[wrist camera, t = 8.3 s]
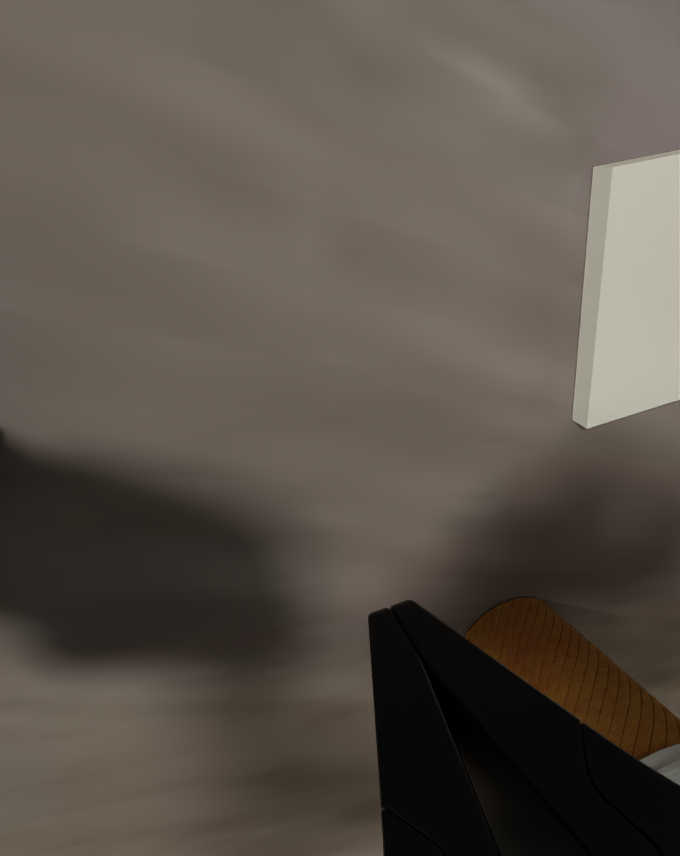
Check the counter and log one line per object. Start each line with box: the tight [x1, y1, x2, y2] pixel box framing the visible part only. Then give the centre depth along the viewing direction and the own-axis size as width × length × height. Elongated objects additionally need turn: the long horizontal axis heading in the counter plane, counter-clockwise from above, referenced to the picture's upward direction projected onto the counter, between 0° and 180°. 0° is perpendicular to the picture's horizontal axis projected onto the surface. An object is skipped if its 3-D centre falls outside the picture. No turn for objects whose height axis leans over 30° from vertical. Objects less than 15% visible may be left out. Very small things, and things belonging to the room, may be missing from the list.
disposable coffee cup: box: [465, 597, 680, 785], centre depth 26 cm, size 10×10×12 cm
